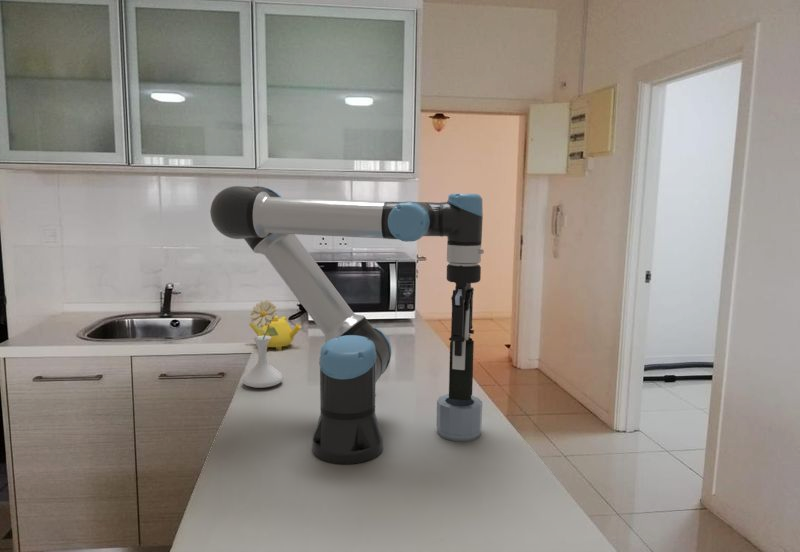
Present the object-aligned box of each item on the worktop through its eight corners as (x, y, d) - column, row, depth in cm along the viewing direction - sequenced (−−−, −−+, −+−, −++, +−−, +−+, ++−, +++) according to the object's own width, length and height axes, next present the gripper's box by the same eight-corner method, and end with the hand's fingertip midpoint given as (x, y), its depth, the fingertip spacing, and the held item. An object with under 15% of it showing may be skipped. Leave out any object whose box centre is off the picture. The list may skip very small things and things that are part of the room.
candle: (470, 400, 126) (474, 290, 122) (448, 398, 127) (450, 289, 123) (472, 393, 131) (475, 287, 127) (450, 391, 132) (453, 286, 128)
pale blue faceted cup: (476, 444, 124) (477, 411, 123) (432, 437, 127) (433, 406, 126) (483, 426, 133) (484, 396, 132) (442, 421, 136) (443, 391, 135)
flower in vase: (234, 384, 161) (232, 298, 157) (269, 375, 169) (268, 293, 165) (258, 395, 152) (256, 304, 148) (294, 386, 160) (293, 299, 156)
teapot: (237, 351, 195) (236, 319, 194) (261, 338, 212) (261, 309, 211) (290, 355, 191) (290, 323, 189) (311, 342, 208) (311, 313, 206)
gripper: (473, 269, 115) (470, 379, 118) (486, 260, 132) (483, 356, 135) (437, 267, 117) (435, 375, 120) (455, 259, 134) (453, 353, 137)
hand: (461, 365), depth 128 cm, fingers closed on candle, 5 cm apart
